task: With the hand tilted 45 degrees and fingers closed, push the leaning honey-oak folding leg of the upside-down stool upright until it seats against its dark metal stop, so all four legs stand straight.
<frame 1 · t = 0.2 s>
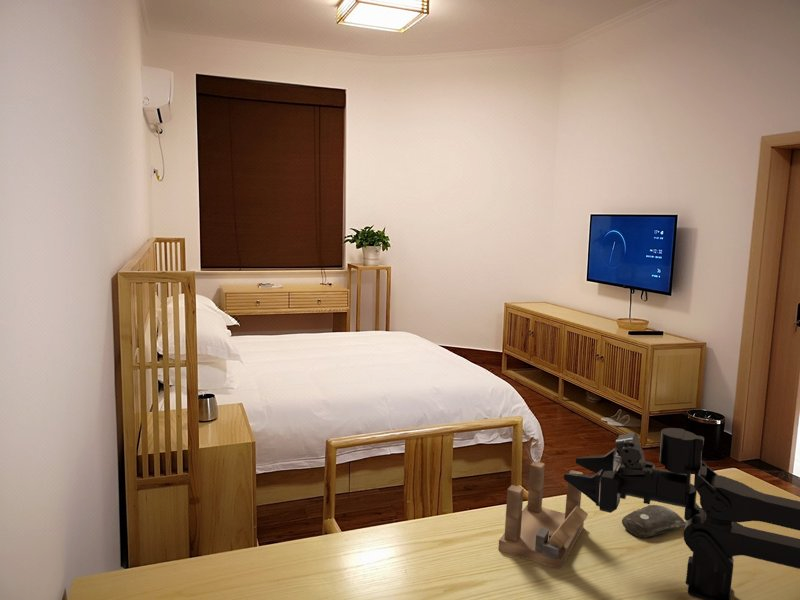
hand: (570, 468, 114), 16 cm above the table, fingers open, 9 cm apart
stool seat: (542, 538, 120), on the table
stone: (651, 528, 126), on the table
folding leg: (565, 530, 110), point 7 cm above the table, hinge at -30.0°
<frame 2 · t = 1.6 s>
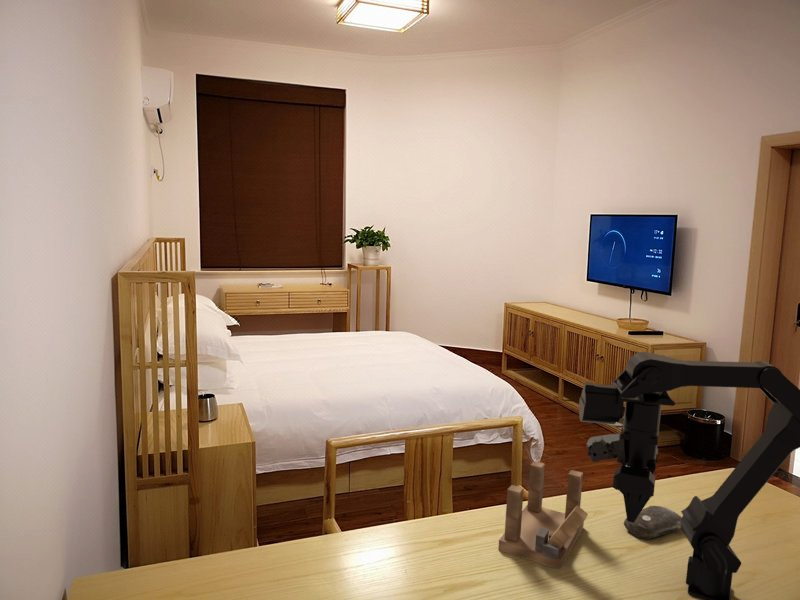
hand: (632, 511, 105), 13 cm above the table, fingers open, 8 cm apart
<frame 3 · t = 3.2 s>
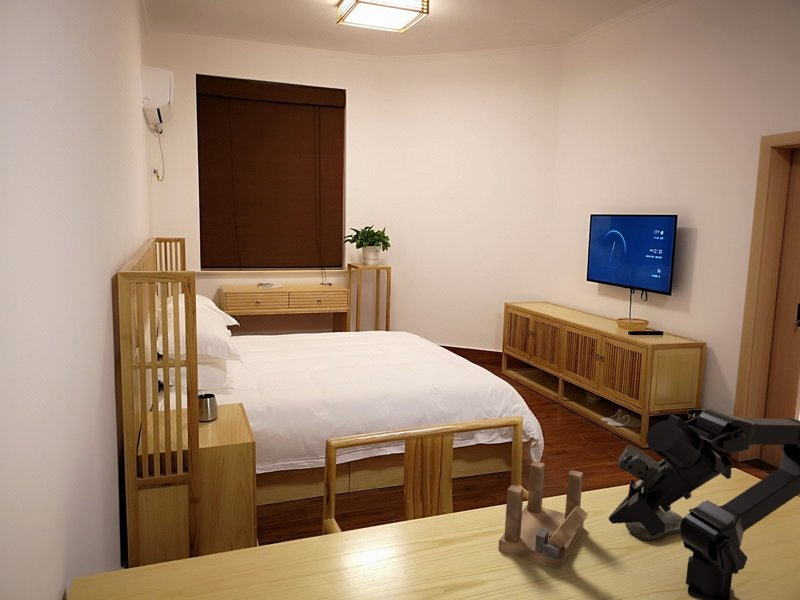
hand: (610, 520, 106), 11 cm above the table, fingers closed
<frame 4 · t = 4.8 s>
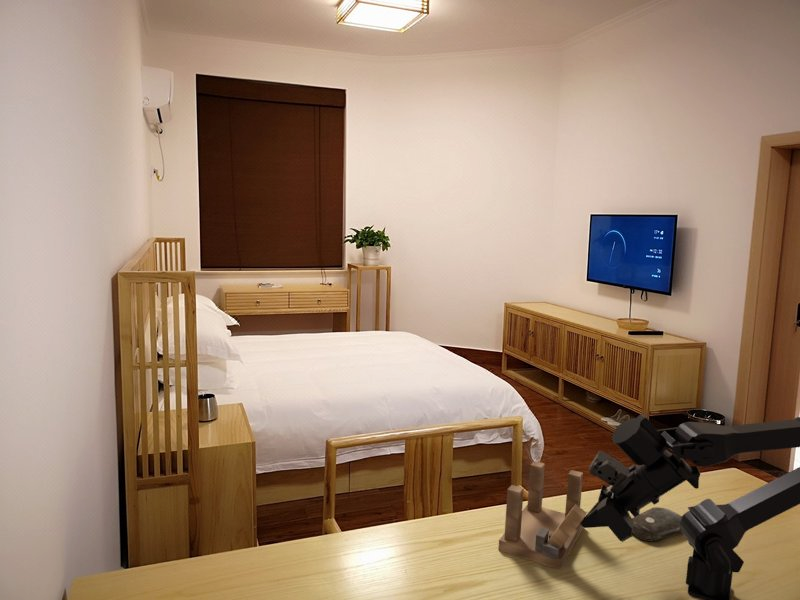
hand: (582, 524, 108), 9 cm above the table, fingers closed, pressing on folding leg
folding leg: (565, 530, 110), point 7 cm above the table, hinge at -27.8°, touching gripper
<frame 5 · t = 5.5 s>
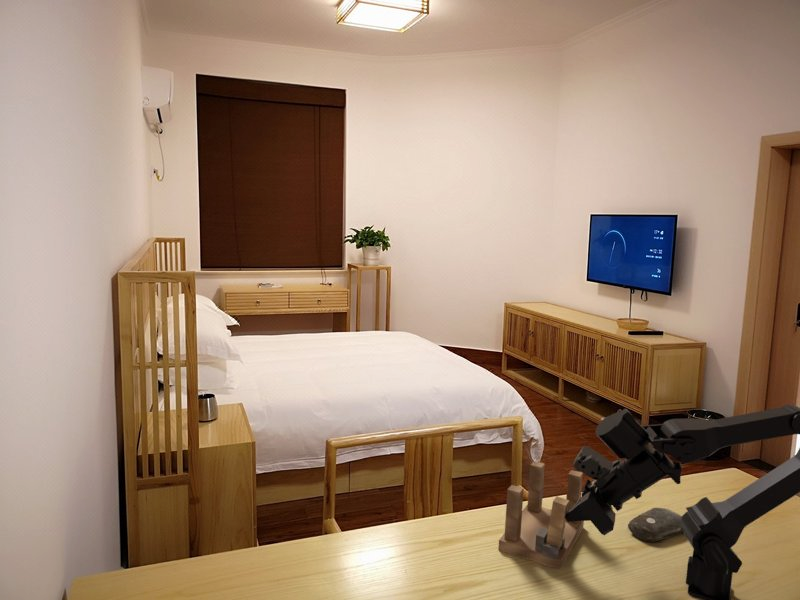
hand: (566, 518, 110), 9 cm above the table, fingers closed, pressing on folding leg
folding leg: (557, 525, 111), point 7 cm above the table, hinge at -4.9°, touching gripper
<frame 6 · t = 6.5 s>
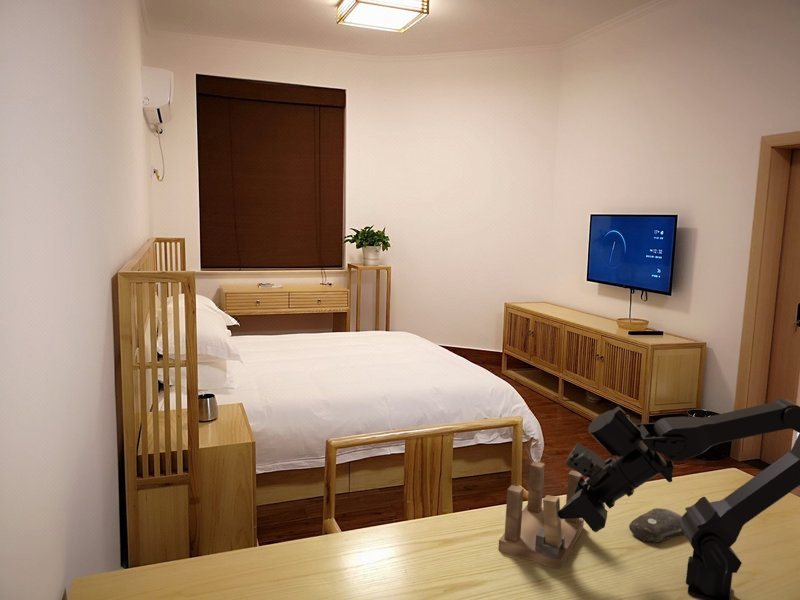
hand: (559, 515, 110), 9 cm above the table, fingers closed, pressing on folding leg
folding leg: (552, 524, 111), point 7 cm above the table, hinge at 6.9°, touching gripper
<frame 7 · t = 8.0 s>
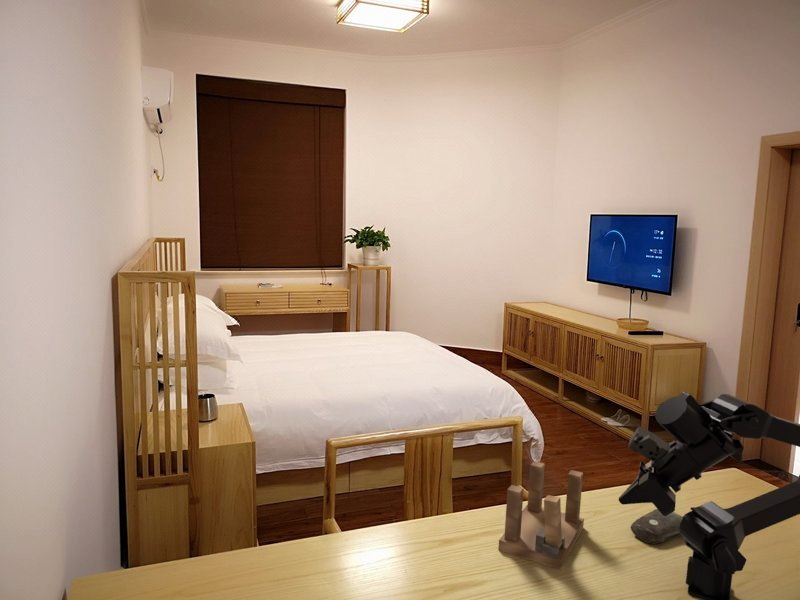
hand: (620, 501, 107), 14 cm above the table, fingers closed
folding leg: (553, 524, 111), point 7 cm above the table, hinge at 5.9°
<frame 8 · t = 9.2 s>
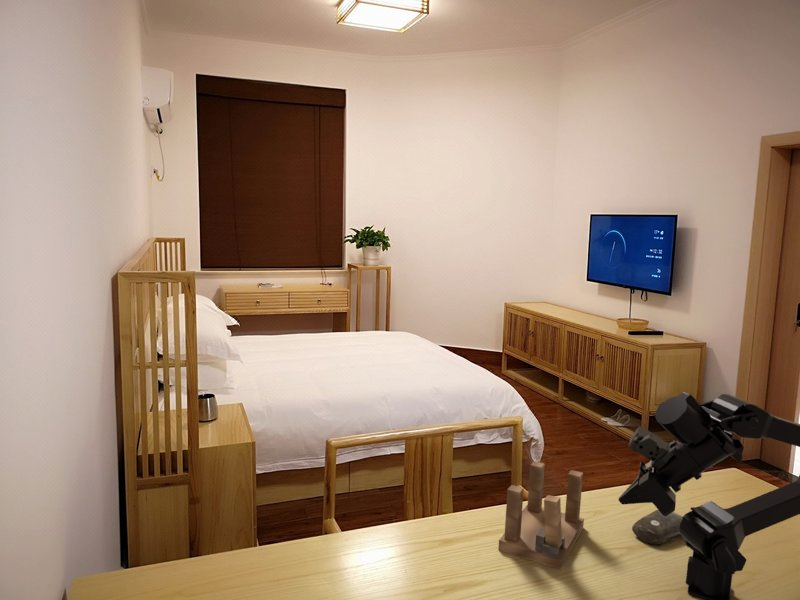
hand: (620, 501, 107), 14 cm above the table, fingers closed
at the end: folding leg at +6° (first picture: -30°); the gripper is holding nothing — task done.
